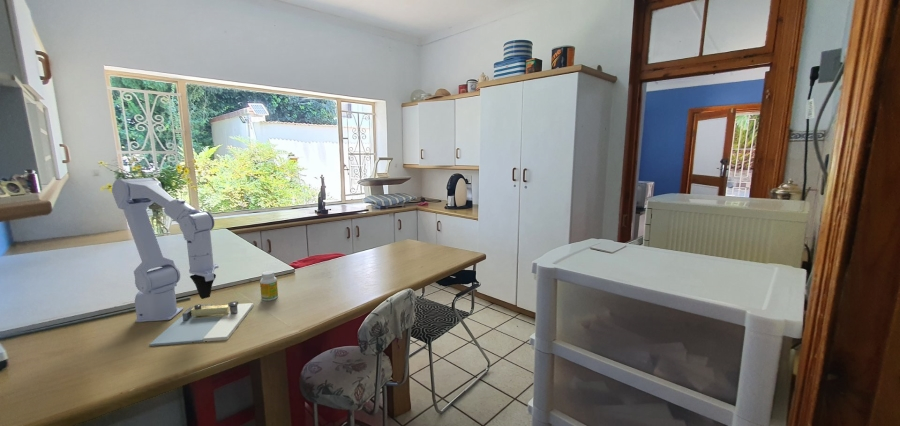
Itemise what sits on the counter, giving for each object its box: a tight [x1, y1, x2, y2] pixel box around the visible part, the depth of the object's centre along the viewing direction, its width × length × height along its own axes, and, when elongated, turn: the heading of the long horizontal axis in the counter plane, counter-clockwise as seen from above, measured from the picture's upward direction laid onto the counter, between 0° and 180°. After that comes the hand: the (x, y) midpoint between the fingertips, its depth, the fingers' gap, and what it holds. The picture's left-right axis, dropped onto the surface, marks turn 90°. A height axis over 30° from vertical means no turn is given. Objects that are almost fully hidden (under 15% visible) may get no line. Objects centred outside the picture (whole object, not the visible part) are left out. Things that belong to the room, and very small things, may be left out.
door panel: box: [149, 302, 255, 347], centre depth 106 cm, size 19×22×1 cm
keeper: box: [181, 303, 213, 321], centre depth 109 cm, size 6×6×2 cm
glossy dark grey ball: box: [227, 300, 239, 315], centre depth 111 cm, size 3×3×4 cm
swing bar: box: [191, 303, 230, 316], centre depth 109 cm, size 10×2×3 cm, turn 103°
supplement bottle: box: [259, 270, 279, 302], centre depth 124 cm, size 5×5×10 cm
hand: (205, 297), depth 103 cm, fingers closed
